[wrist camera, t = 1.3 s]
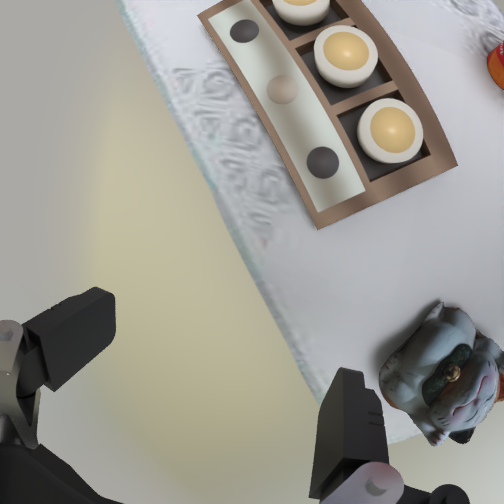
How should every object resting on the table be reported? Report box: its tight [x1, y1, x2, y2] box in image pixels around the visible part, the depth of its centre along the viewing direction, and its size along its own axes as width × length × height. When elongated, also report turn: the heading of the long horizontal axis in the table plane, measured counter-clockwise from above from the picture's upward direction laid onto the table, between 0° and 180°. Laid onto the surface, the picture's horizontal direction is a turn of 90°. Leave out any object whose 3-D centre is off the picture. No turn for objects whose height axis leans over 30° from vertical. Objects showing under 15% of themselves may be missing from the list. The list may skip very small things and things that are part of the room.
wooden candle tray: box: [197, 0, 458, 230], centre depth 25 cm, size 16×27×3 cm, turn 28°
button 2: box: [357, 98, 423, 164], centre depth 22 cm, size 6×6×3 cm
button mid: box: [314, 25, 378, 88], centre depth 21 cm, size 6×6×3 cm
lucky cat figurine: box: [379, 302, 504, 446], centre depth 25 cm, size 15×12×14 cm
